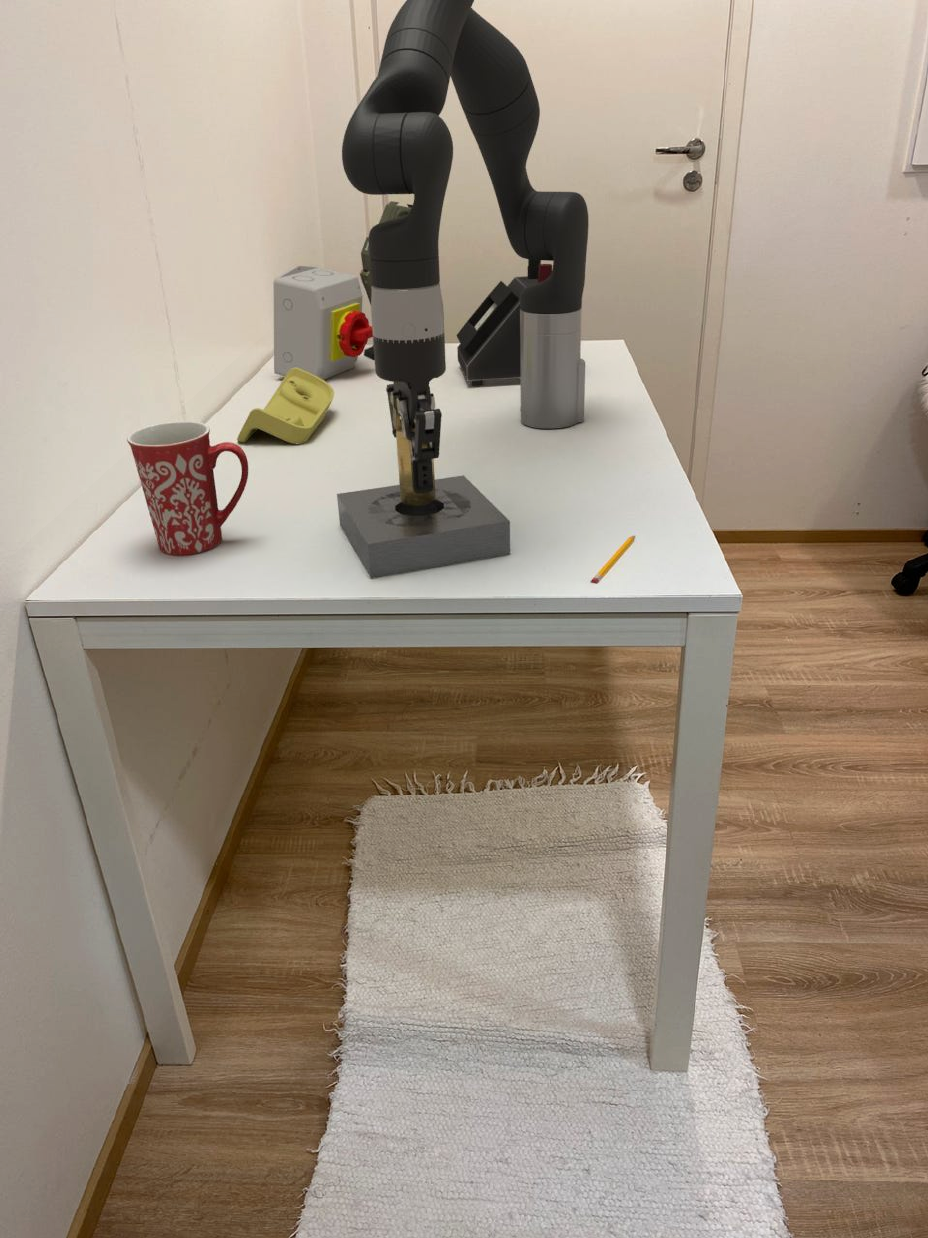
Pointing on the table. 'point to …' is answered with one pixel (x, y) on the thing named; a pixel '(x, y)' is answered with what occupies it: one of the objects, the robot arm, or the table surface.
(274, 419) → the plastic component
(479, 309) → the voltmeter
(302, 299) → the electrical switch box
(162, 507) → the mug
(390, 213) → the mechanical leg
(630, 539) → the pencil
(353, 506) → the jig
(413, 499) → the brass peg
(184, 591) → the table surface
